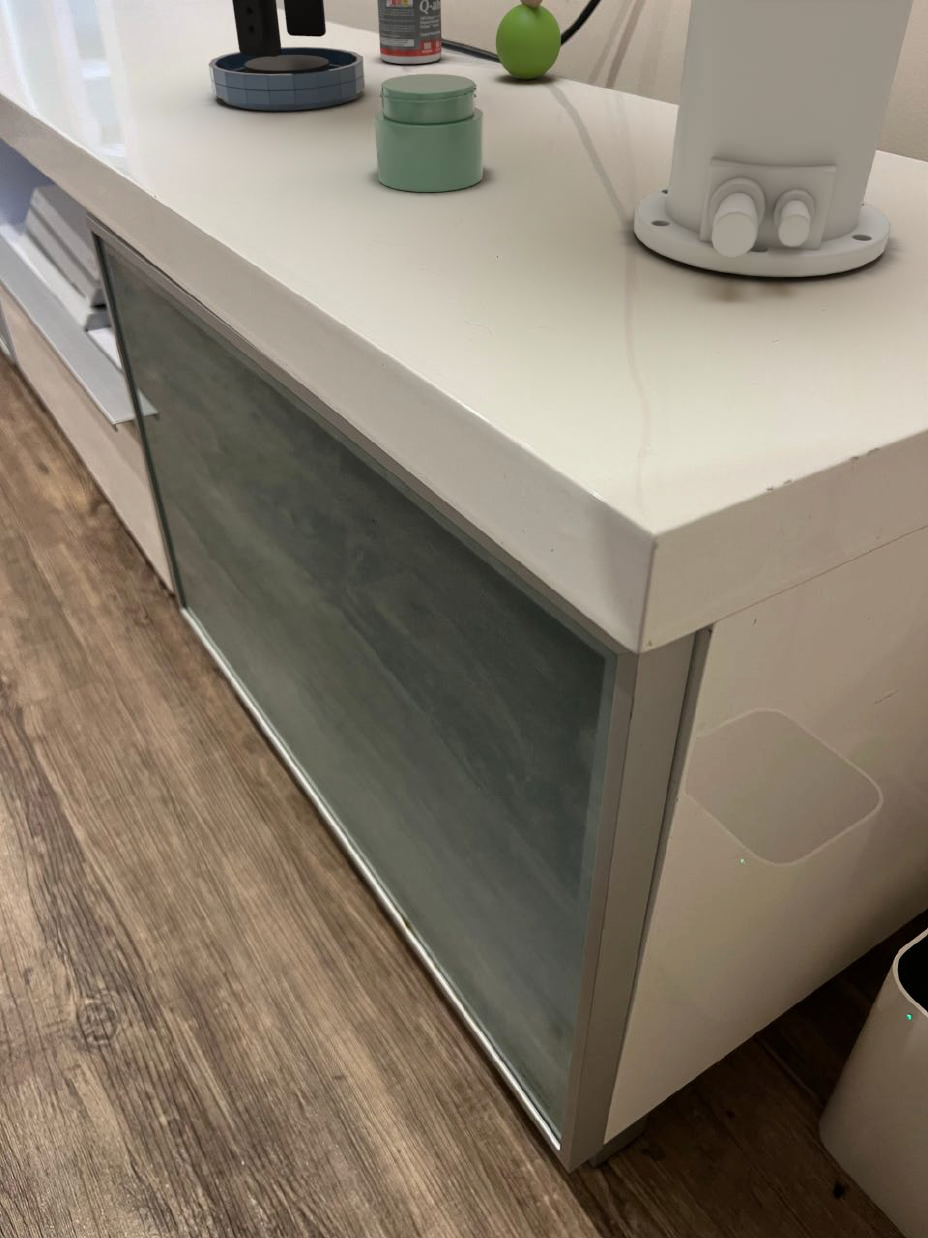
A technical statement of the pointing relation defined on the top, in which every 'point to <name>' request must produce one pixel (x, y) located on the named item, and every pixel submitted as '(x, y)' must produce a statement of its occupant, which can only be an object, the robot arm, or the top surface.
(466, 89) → the jar
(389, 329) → the top surface
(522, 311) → the top surface
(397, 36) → the pill bottle
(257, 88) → the dish
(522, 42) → the green apple
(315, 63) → the lid
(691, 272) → the top surface
